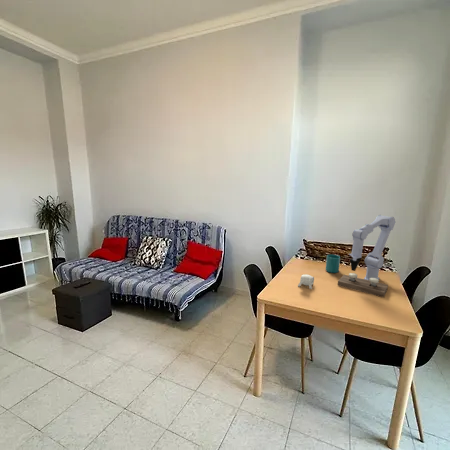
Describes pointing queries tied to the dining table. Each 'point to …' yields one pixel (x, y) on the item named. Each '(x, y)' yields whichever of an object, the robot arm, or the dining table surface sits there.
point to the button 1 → (352, 276)
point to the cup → (332, 263)
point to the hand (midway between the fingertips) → (354, 269)
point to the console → (363, 286)
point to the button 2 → (373, 281)
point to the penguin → (306, 280)
